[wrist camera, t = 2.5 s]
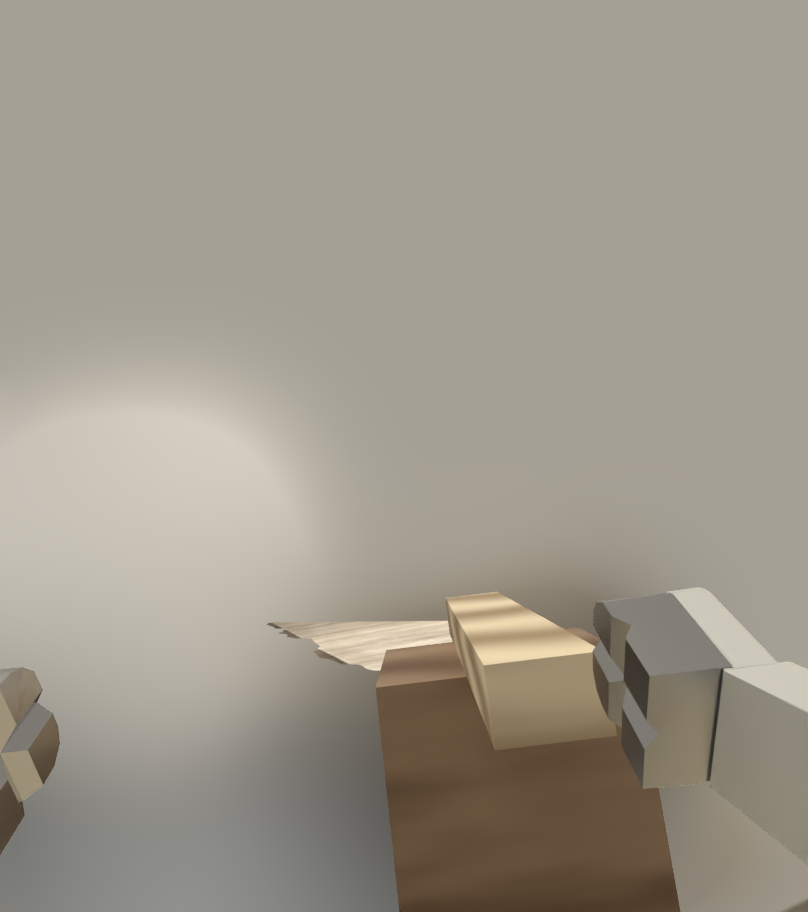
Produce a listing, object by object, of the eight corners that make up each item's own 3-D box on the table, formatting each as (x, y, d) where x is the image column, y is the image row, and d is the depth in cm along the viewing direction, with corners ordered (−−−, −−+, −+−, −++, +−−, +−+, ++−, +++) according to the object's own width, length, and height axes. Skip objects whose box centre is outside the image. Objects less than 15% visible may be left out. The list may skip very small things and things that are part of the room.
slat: (617, 735, 14) (603, 651, 14) (495, 750, 14) (483, 665, 14) (501, 627, 33) (496, 591, 33) (449, 633, 33) (445, 598, 33)
